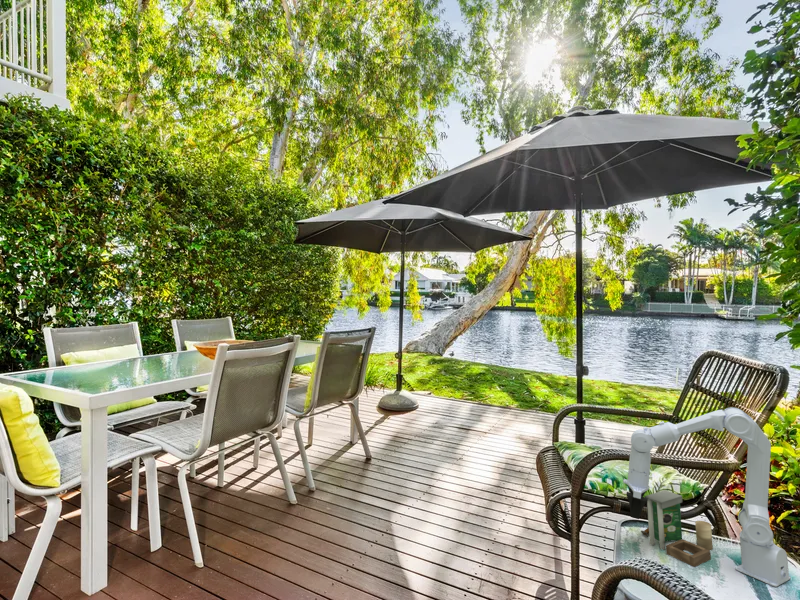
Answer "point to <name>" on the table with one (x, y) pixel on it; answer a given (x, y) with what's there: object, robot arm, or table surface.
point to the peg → (704, 534)
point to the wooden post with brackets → (646, 532)
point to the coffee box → (668, 522)
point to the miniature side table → (660, 512)
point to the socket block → (694, 560)
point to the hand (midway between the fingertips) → (635, 512)
